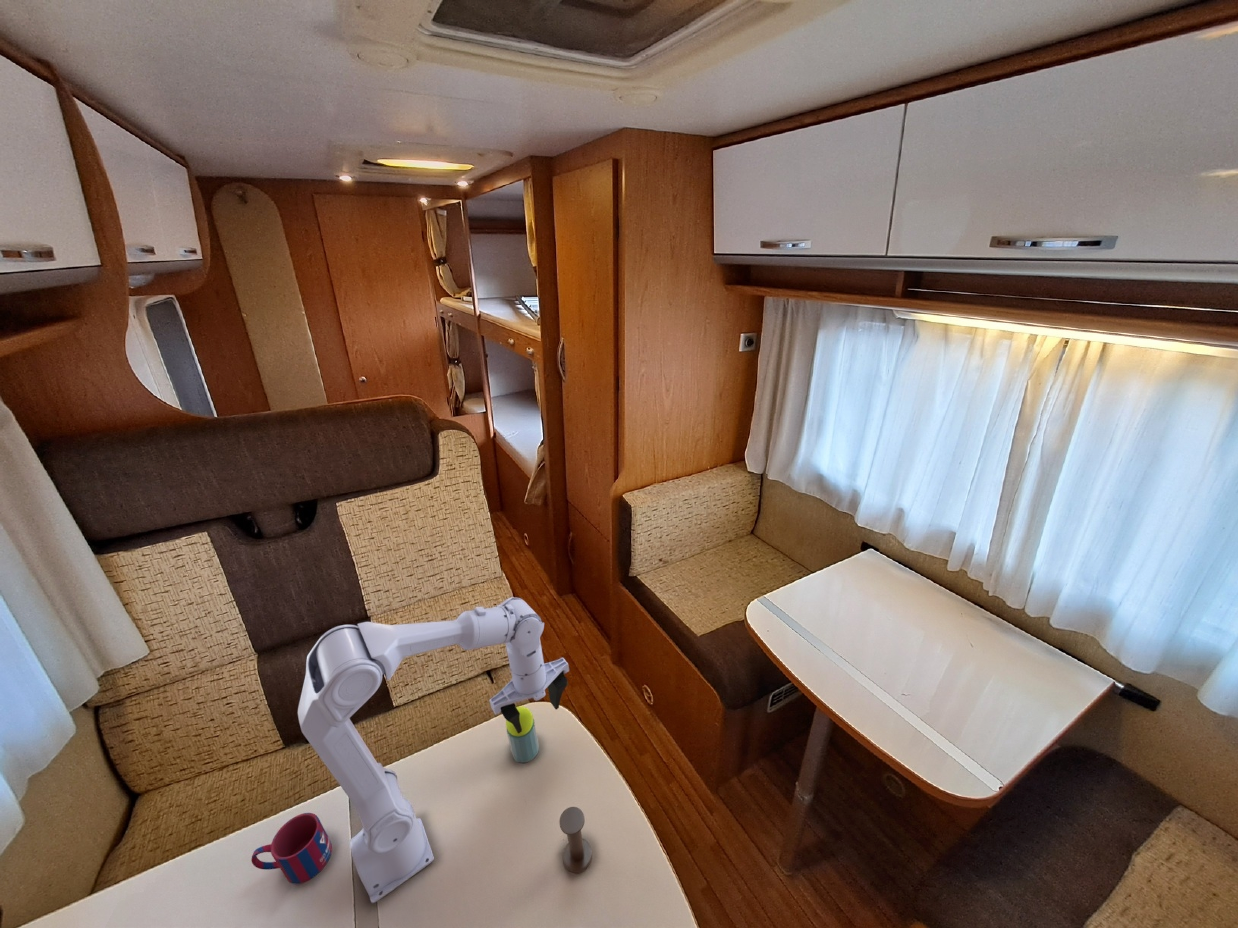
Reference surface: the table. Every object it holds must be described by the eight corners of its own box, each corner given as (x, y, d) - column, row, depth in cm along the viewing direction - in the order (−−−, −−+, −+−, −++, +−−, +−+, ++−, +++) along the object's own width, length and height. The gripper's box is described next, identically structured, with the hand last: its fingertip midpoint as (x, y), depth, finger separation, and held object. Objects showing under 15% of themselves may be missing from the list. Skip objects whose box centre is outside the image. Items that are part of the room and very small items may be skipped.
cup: (324, 877, 77) (310, 853, 74) (255, 894, 75) (238, 870, 72) (337, 832, 83) (325, 807, 80) (274, 846, 81) (259, 822, 78)
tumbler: (519, 768, 91) (513, 743, 88) (507, 747, 95) (502, 723, 92) (543, 751, 94) (539, 727, 91) (531, 732, 98) (526, 708, 95)
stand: (573, 880, 75) (566, 843, 70) (558, 853, 78) (551, 816, 74) (597, 859, 77) (592, 822, 73) (582, 833, 80) (576, 797, 76)
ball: (515, 747, 89) (511, 729, 87) (503, 728, 93) (499, 710, 90) (539, 732, 91) (536, 713, 89) (527, 713, 95) (524, 695, 93)
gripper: (496, 700, 77) (509, 756, 82) (574, 655, 84) (581, 709, 90) (479, 672, 82) (493, 727, 88) (554, 632, 89) (562, 685, 95)
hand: (536, 716), depth 89 cm, fingers open, 7 cm apart
